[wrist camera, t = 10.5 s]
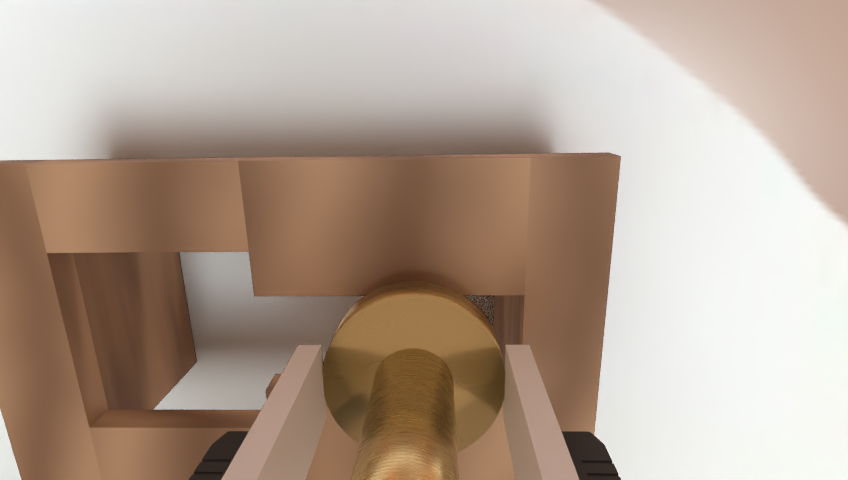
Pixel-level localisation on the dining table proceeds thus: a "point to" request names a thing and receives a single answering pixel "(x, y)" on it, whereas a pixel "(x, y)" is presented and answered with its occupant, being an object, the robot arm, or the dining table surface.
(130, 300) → the keyhole shelf
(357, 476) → the pin
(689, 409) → the dining table surface
